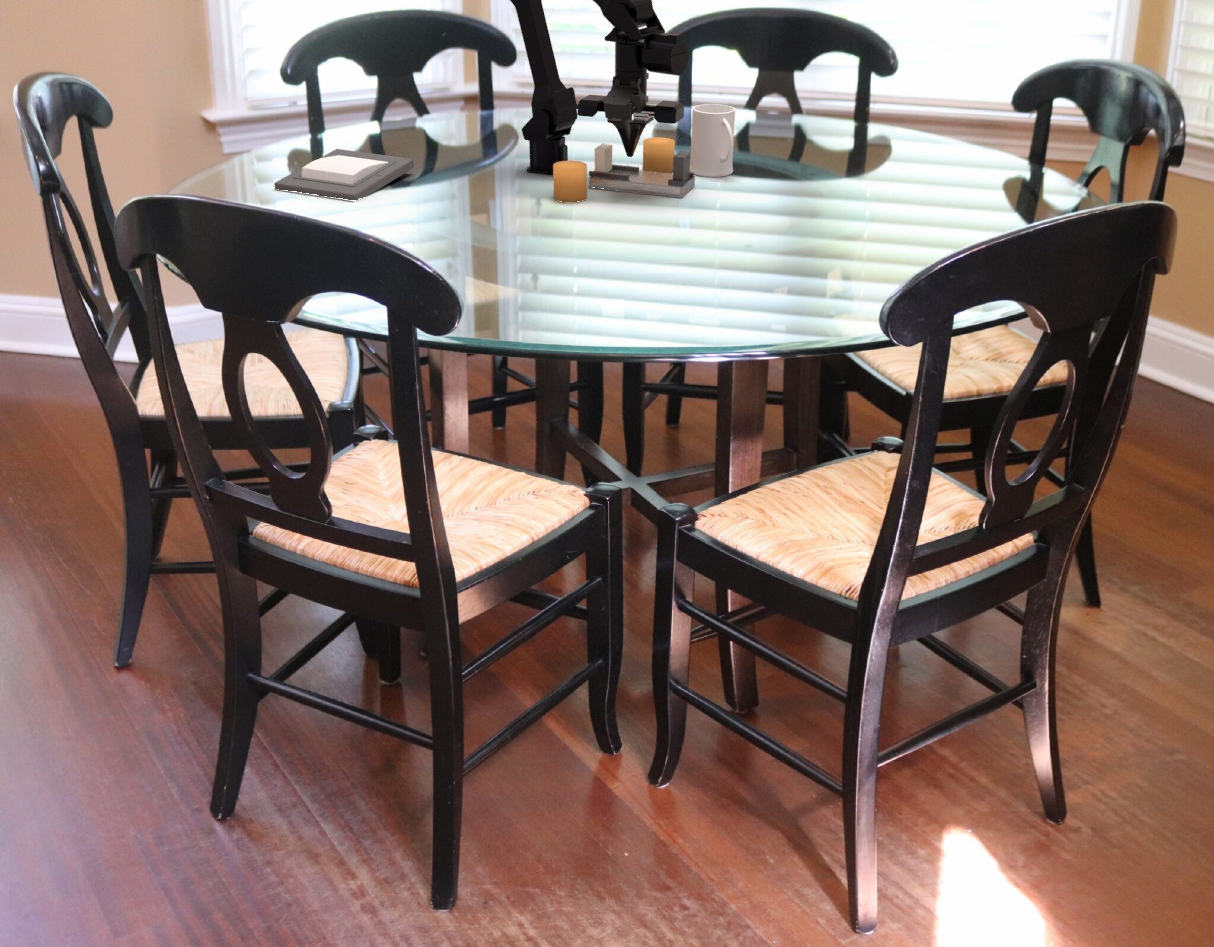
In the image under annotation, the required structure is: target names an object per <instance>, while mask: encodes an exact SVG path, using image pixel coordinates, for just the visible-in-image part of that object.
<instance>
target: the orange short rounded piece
mask: <svg viewBox="0 0 1214 947" xmlns="http://www.w3.org/2000/svg"><path fill="white" fill-rule="evenodd" d="M675 143H676V142H675V140H674V139H673V138H668V137H657V136H654V137H648V138H645V139H643V142H642V170H643V171H652V172H662V173H673V157H674V156H675V145H676V144H675Z"/></svg>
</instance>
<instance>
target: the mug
mask: <svg viewBox="0 0 1214 947" xmlns="http://www.w3.org/2000/svg"><path fill="white" fill-rule="evenodd" d="M691 113H692V115H691V116H692V117H691V138H690V140H691V141H690V142H691V143H690V172H692V173H694V176H698V177H703V178H704V177H705V178H721V177H727V176H730V175H732V174H733V173H734V167H733V158H734V157H733V154H734V139H735V137H734V136H735V122H736V121H735V120H736V108H735V107H734V106H730V105H726V104H720V103H719V104H718V103H703V104H698V105H695V106H693V107H692V112H691Z"/></svg>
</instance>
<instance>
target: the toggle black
mask: <svg viewBox="0 0 1214 947" xmlns="http://www.w3.org/2000/svg"><path fill="white" fill-rule="evenodd" d="M690 161H691V151H678V152H677V153H676V154H674V157H673V179H675V180H686V179H687V178H689V174H690Z"/></svg>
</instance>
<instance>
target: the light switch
mask: <svg viewBox="0 0 1214 947" xmlns="http://www.w3.org/2000/svg"><path fill="white" fill-rule="evenodd" d="M414 168H415V163H414V159H413V158H409V157H408V158H407V157H402V156H392V155H385V154H378V153H370V152H363V151H355V150H348V149H342V148H336V149H334V150H331V151H330V152H328V153H327V154H325V155H323V156H321V157H320V158H318V159H315V160H313V161H311V162H309V163H307V164H305V165H304V166H303V167H301V168H298V169H297V170H296V171H293V172H292V173H290V174H288V175H286V176H285V177H282V178H281V179H279V180H277V181H275V182H274V185H273V186H274V190H275V189H279V190H278V191H280V190H288V191H297V192H302V193H309V194H317V195H319V196H327V197H334V198H335V197H336V198H343V199H348V200H358V199H359V198H362V199H364V198H363V197H365V198H366V197H367V198H368V196H370V195H372V194H373V193H375V192H377V191H378V190H380V189H382V188H383V187H385V186H386V185H388V184H390V183H391V182H392V181H394V180H396V179H397V178H399V177H401V176H403V175H404V174H406V173H407V172H409V171H411V170H412V169H414ZM319 196H318V197H319ZM358 201H359V200H358Z"/></svg>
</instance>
